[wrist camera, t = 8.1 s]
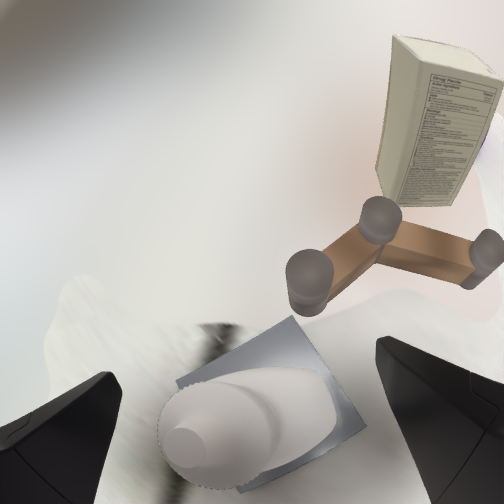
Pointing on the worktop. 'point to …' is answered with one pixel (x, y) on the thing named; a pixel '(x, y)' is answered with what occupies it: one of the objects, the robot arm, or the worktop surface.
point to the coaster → (284, 355)
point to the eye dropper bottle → (244, 424)
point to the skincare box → (433, 120)
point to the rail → (388, 256)
